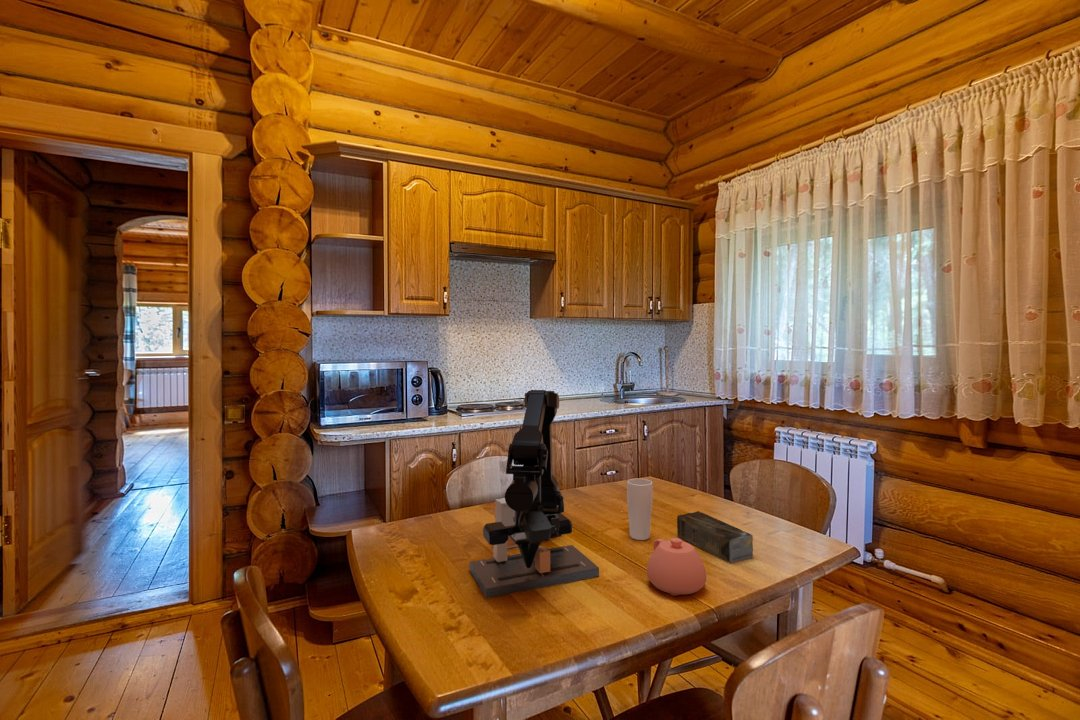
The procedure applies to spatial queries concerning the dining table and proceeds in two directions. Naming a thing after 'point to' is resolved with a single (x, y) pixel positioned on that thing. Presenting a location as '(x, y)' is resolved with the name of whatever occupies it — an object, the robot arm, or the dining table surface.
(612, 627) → the dining table surface
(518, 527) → the robot arm
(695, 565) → the pink teapot
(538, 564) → the orange fader
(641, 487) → the drinking glass
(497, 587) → the console
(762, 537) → the dining table surface
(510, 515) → the skincare box
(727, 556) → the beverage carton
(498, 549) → the white fader
